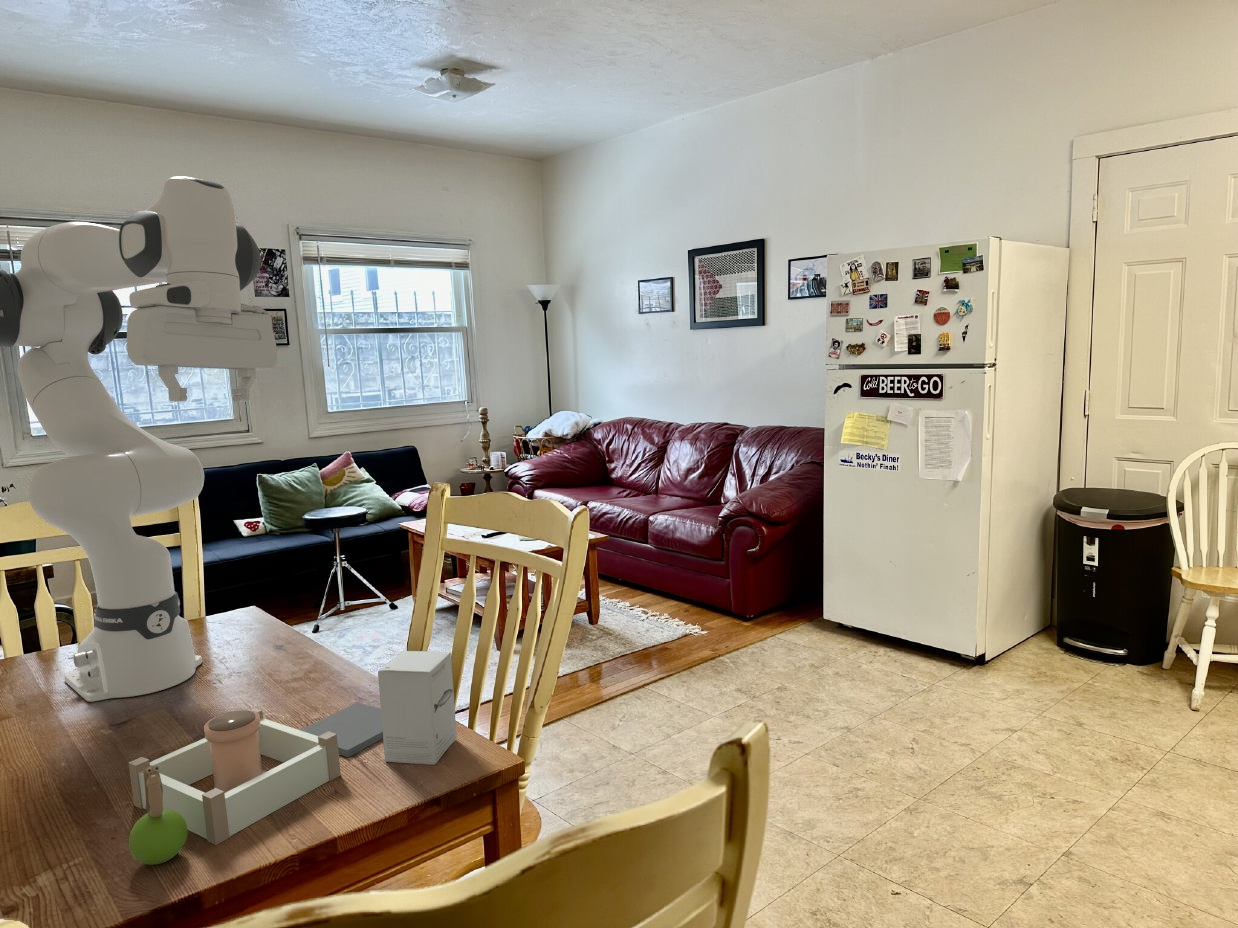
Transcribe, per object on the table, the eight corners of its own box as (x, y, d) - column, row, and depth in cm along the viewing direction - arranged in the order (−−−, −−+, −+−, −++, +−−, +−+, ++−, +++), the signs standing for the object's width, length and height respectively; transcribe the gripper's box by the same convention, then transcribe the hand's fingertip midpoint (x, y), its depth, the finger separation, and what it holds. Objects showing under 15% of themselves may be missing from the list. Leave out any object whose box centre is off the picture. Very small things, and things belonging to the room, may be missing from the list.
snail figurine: (136, 887, 83) (121, 776, 82) (129, 857, 88) (115, 752, 87) (195, 865, 86) (182, 758, 85) (185, 838, 92) (173, 736, 90)
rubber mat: (295, 739, 114) (294, 732, 114) (357, 708, 124) (357, 702, 123) (348, 757, 109) (347, 750, 108) (409, 723, 118) (409, 716, 118)
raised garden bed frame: (134, 805, 99) (128, 762, 98) (259, 745, 113) (254, 707, 112) (216, 845, 90) (210, 798, 89) (340, 774, 104) (336, 733, 103)
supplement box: (436, 766, 105) (429, 672, 104) (383, 762, 107) (375, 669, 105) (459, 739, 112) (452, 650, 111) (408, 736, 114) (401, 648, 112)
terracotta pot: (201, 795, 101) (192, 724, 99) (247, 772, 106) (240, 704, 104) (231, 808, 97) (223, 735, 96) (277, 784, 102) (270, 714, 101)
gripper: (255, 309, 122) (260, 402, 123) (116, 293, 104) (123, 402, 105) (284, 305, 119) (289, 400, 120) (146, 287, 101) (153, 400, 102)
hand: (211, 401), depth 112 cm, fingers open, 8 cm apart
